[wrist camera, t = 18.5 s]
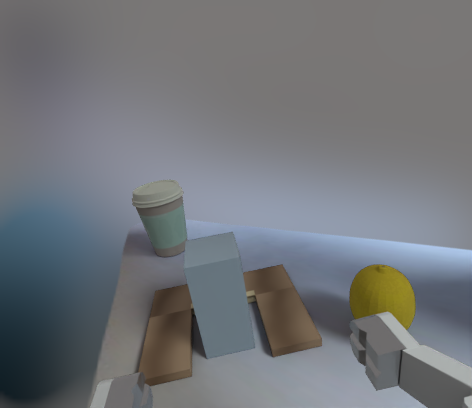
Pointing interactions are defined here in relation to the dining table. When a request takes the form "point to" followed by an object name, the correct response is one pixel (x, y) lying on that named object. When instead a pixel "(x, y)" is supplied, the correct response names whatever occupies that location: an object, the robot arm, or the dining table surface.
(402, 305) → the lemon
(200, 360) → the dining table surface
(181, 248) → the coffee cup
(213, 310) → the blue-grey rectangular block
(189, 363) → the wooden u-shaped frame
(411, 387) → the robot arm
